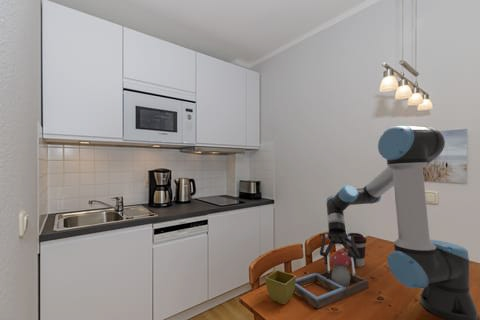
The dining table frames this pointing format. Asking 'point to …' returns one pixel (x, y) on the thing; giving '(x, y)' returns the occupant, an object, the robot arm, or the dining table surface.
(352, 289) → the gray organizer
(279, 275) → the flower pot
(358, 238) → the coffee cup
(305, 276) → the slate-blue rim
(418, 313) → the dining table surface
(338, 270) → the decorative ornament
